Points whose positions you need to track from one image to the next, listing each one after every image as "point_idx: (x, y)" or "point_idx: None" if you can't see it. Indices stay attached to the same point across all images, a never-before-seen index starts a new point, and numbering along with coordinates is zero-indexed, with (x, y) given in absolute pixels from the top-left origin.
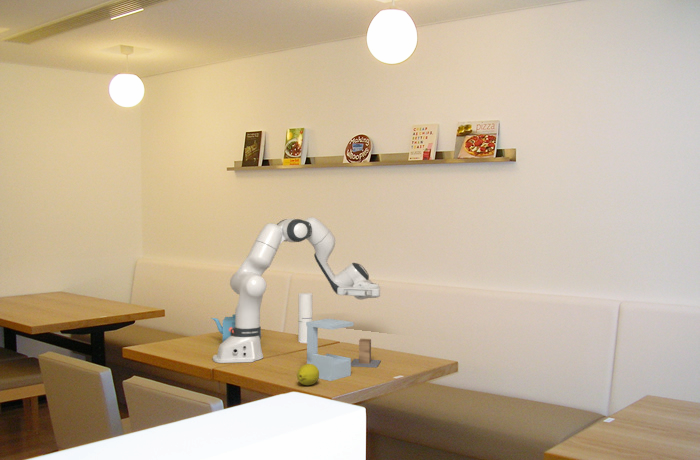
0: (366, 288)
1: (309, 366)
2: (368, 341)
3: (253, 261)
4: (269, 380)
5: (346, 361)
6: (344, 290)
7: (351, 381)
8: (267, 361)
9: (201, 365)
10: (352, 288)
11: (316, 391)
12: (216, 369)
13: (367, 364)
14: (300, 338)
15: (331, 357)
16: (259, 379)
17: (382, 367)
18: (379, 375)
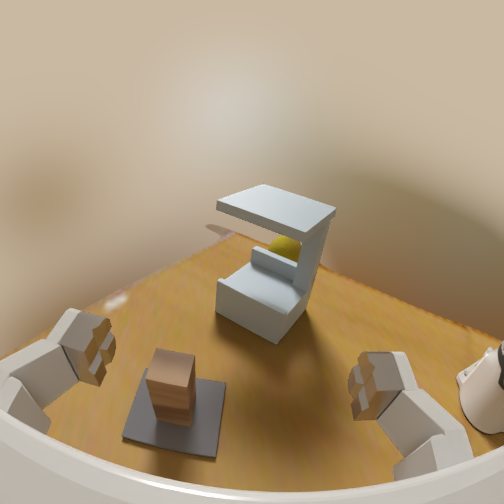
0: (20, 432)
1: (283, 235)
2: (160, 350)
3: None
4: (351, 284)
5: (226, 279)
6: (436, 408)
7: (212, 280)
8: (440, 394)
9: (490, 340)
10: (354, 488)
11: None
12: (459, 325)
13: None
14: None
15: (255, 247)
16: (367, 288)
17: (130, 371)
18: (152, 310)
